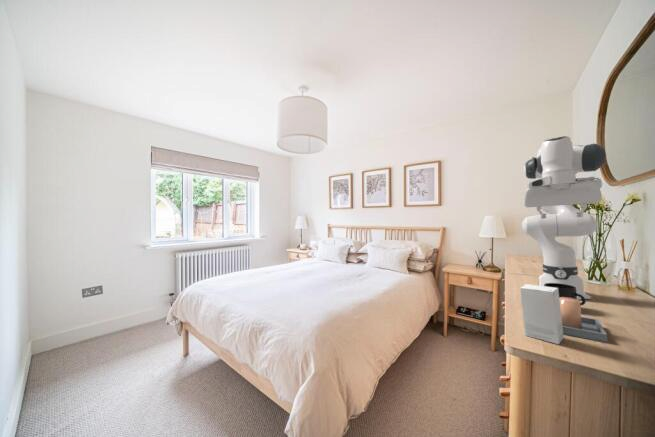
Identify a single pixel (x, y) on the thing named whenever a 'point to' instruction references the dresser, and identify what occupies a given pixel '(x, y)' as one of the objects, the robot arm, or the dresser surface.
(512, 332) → the dresser surface
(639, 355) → the dresser surface
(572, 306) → the pinkish-tan rounded block
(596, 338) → the tray
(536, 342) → the dresser surface
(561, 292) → the mug
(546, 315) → the skincare box
